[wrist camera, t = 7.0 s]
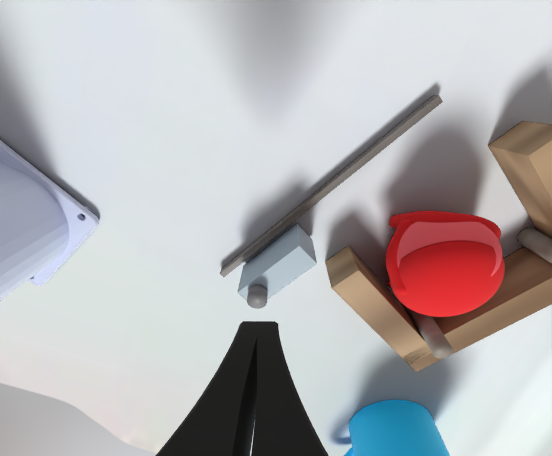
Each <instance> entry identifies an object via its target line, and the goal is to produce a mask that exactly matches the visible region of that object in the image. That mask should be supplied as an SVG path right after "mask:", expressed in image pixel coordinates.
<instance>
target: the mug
mask: <svg viewBox="0 0 552 456" xmlns="http://www.w3.org/2000/svg"><path fill="white" fill-rule="evenodd" d="M349 432H350V437H351V442H352V448H350V450H349V451H348V452H347V453H346V454H345V455H344V456H450V455H449V453H448V451H447V448H446V446H445V444H444V442H443V440H442V438H441V435H440V433H439V431H438V429H437V427H436V425H435V422H434V420H433V418H432V416H431V414H430V413H429V412H428V410H427V409H426V408H424V407H423V406H421V405H419V404H418V403H414V402H411V401H407V400H386V401H380V402H376V403H374V404H371V405H368V406H366V407H364V408H363V409H361V410H360V411H358V412H357V413H356V414H355V415H354V416H353V418H352V419H351V420H350V424H349Z"/></svg>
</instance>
